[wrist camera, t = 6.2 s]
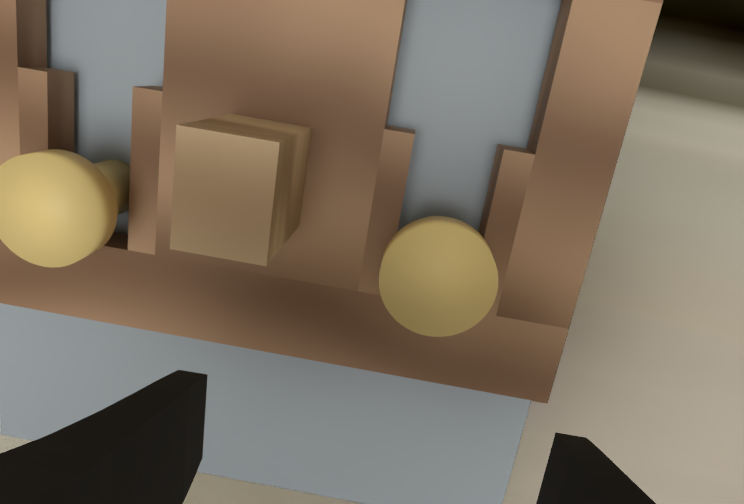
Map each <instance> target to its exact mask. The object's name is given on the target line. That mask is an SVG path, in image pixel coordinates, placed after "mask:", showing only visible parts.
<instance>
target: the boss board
mask: <svg viewBox="0 0 744 504" xmlns="http://www.w3.org/2000/svg"><path fill="white" fill-rule="evenodd" d="M561 3H562V0H407V5H406V12H405V18H404V24H403V30H402V36H401V42H400V48H399V54H398V61H397V67H396V73H395V79H394V85H393V91H392V97H391V104H390V110H389V116H388V122H387V125H389V126H395V127H401V128H407V129H413V130H415V136H414V142H413V148H412V153H411V159H410V164H409V170H408V176H407V181H406V187H405V192H404V198H403V204H402V209H401V215H400V220H399V226H398V232H397V233H396V234H395V235H394V236H393V238H392V239H391V240H390V242H389V243H388V245H387V247H386V249H385V252H384V254H383V258H382V263H381V267H380V272H379V289H380V294H381V298H382V301H383V303H384V305H385V307H386V309H387V310H388V312H389V313H390V314H391V315H392V317H393V318H394V319H395V320H396V321H397V322H398V323H400V324H401V325H402V326H404V327H405V328H407V329H409V330H411V331H413V332H415V333H418V334H421V335H425V336H432V337H445V336H452V335H456V334H459V333H462V332H464V331H466V330H468V329H470V328H472V327H473V326H475V325H476V324H477V323H479V322H480V321H481V320H482V319H483V318H484V317H485V315H486V314H487V313H488V312H489V310H490V309H491V307H492V305H493V303H494V301H495V298H496V295H497V291H498V270H497V267H496V263H495V261H494V258H493V256H492V253H491V251H490V248H489V246H488V244H487V243H486V241H485V239H484V238H483V237H482V236H481V234H480V233H479V232H478V231H479V227H480V222H481V218H482V213H483V209H484V204H485V200H486V195H487V191H488V186H489V182H490V177H491V173H492V168H493V164H494V159H495V155H496V150H497V146H498V144H501V145H507V146H513V147H519V148H525V149H527V145H528V141H529V137H530V133H531V128H532V124H533V120H534V116H535V112H536V107H537V103H538V99H539V95H540V91H541V87H542V82H543V78H544V74H545V70H546V66H547V61H548V57H549V53H550V49H551V45H552V40H553V36H554V32H555V28H556V24H557V19H558V15H559V11H560V7H561ZM166 5H167V0H46V29H47V68H52V69H58V70H64V71H70V72H74V153H73V152H70V151H66V150H59V149H50V150H44V151H39V152H34V153H29V154H24V155H19V156H16V157H13V158H11V159H9V160H7V161H6V162H5V163H3V164H2V165H1V166H0V239H1V240H2V242H3V243H4V244H5V245H6V246H7V247H8V248H9V249H10V250H11V251H12V252H13V253H15V254H16V255H17V256H19V257H20V258H22V259H24V260H26V261H28V262H30V263H33V264H35V265H39V266H43V267H50V268H54V267H64V266H68V265H71V264H73V263H75V262H77V261H79V260H81V259H83V258H85V257H87V256H89V255H90V254H92V253H94V252H96V251H97V250H99V249H100V248H102V247H103V246H104V245H105V244H106V243H107V242H108V240H109V239H110V238H111V236H112V234H113V232H115V233H121V234H126V235H128V221H129V189H130V157H131V124H132V92H133V86H159V87H163V70H164V48H165V26H166ZM177 370H184V371H190V372H196V373H202V374H208V376H207V392H206V408H205V425H204V441H203V457H202V460H201V463H200V465H199V467H198V470H197V472H200V473H205V474H210V475H216V476H221V477H226V478H231V479H237V480H242V481H247V482H252V483H258V484H263V485H268V486H273V487H279V488H284V489H289V490H294V491H300V492H305V493H310V494H315V495H321V496H326V497H331V498H336V499H342V500H347V501H352V502H357V503H363V504H503V500H504V496H505V493H506V489H507V486H508V482H509V478H510V475H511V471H512V468H513V464H514V460H515V457H516V453H517V449H518V446H519V442H520V439H521V435H522V431H523V428H524V424H525V421H526V417H527V413H528V410H529V406H530V403H531V400H526V399H521V398H515V397H510V396H504V395H499V394H493V393H488V392H483V391H477V390H472V389H466V388H461V387H455V386H450V385H444V384H439V383H433V382H428V381H422V380H417V379H412V378H406V377H401V376H395V375H390V374H384V373H379V372H373V371H368V370H362V369H357V368H351V367H346V366H341V365H335V364H330V363H324V362H319V361H313V360H308V359H302V358H297V357H291V356H286V355H280V354H275V353H270V352H264V351H259V350H253V349H248V348H242V347H237V346H231V345H226V344H220V343H215V342H209V341H204V340H199V339H193V338H188V337H182V336H177V335H171V334H166V333H160V332H155V331H149V330H144V329H138V328H133V327H128V326H122V325H117V324H111V323H106V322H100V321H95V320H89V319H84V318H78V317H73V316H67V315H62V314H57V313H51V312H46V311H40V310H35V309H29V308H24V307H18V306H13V305H7V304H2V303H0V428H1V435H6V436H11V437H16V438H21V439H27V440H32V441H35V440H37V439H40V438H42V437H44V436H47V435H49V434H51V433H54V432H56V431H58V430H60V429H62V428H64V427H66V426H69V425H71V424H73V423H75V422H77V421H79V420H81V419H83V418H86V417H88V416H90V415H92V414H94V413H96V412H98V411H100V410H102V409H104V408H106V407H108V406H110V405H112V404H114V403H116V402H118V401H120V400H121V399H123V398H125V397H127V396H129V395H131V394H133V393H135V392H137V391H139V390H140V389H142V388H144V387H146V386H148V385H150V384H152V383H153V382H155V381H157V380H159V379H161V378H163V377H165V376H167V375H169V374H171V373H173V372H175V371H177Z"/></svg>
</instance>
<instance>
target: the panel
mask: <svg viewBox="0 0 744 504" xmlns="http://www.w3.org/2000/svg"><path fill="white" fill-rule="evenodd" d="M662 3H663V0H562V3H561V7H560V11H559V15H558V19H557V24H556V28H555V32H554V36H553V40H552V45H551V49H550V53H549V57H548V61H547V66H546V70H545V74H544V78H543V82H542V87H541V91H540V95H539V99H538V103H537V107H536V112H535V116H534V120H533V124H532V128H531V133H530V137H529V141H528V145H527V149H525V148H519V147H513V146H507V145H501V144H498V146H497V150H496V155H495V159H494V164H493V168H492V173H491V177H490V182H489V186H488V191H487V195H486V200H485V204H484V209H483V213H482V218H481V222H480V227H479V231H478V232H479V233H480V234H481V236H482V237H483V238H484V239H485V241H486V243H487V244H488V246H489V248H490V251H491V253H492V256H493V258H494V261H495V263H496V267H497V270H498V291H497V295H496V298H495V301H494V303H493V305H492V307H491V309H490V310H489V312H488V313H487V314H486V315H485V317H484V318H483V319H482V320H481V321H480V322H479V323H477V324H476V325H475V326H473V327H472V328H470V329H468V330H466V331H464V332H462V333H459V334H456V335H452V336H445V337H432V336H425V335H421V334H418V333H415V332H413V331H411V330H409V329H407V328H405V327H404V326H402V325H401V324H400V323H398V322H397V321H396V320H395V319H394V318H393V317H392V315H391V314H390V313H389V312H388V310H387V309H386V307H385V305H384V303H383V301H382V298H381V294H380V289H379V272H380V267H381V263H382V258H383V254H384V252H385V249H386V247H387V245H388V243H389V242H390V240H391V239H392V238H393V236H394V235H395V234H396V233H397V232H398V226H399V220H400V215H401V209H402V204H403V198H404V192H405V187H406V181H407V176H408V170H409V164H410V159H411V153H412V148H413V142H414V136H415V130H413V129H407V128H401V127H395V126H389V125H387V122H388V116H389V110H390V104H391V97H392V91H393V85H394V79H395V73H396V67H397V61H398V54H399V48H400V42H401V36H402V30H403V24H404V18H405V12H406V5H407V0H167V5H166V26H165V48H164V70H163V87H159V86H133V92H132V124H131V157H130V189H129V221H128V235H126V234H121V233H115V232H113V234H112V236H111V238H110V239H109V240H108V242H107V243H106V244H105V245H104V246H103V247H102V248H100V249H99V250H97V251H96V252H94V253H92V254H90V255H89V256H87V257H85V258H83V259H81V260H79V261H77V262H75V263H73V264H71V265H68V266H64V267H54V268H50V267H43V266H39V265H35V264H33V263H30V262H28V261H26V260H24V259H22V258H20V257H19V256H17V255H16V254H15V253H13V252H12V251H11V250H10V249H9V248H8V247H7V246H6V245H5V244H4V243H3V242H2V240H1V239H0V303H2V304H7V305H13V306H18V307H24V308H29V309H35V310H40V311H46V312H51V313H57V314H62V315H67V316H73V317H78V318H84V319H89V320H95V321H100V322H106V323H111V324H117V325H122V326H128V327H133V328H138V329H144V330H149V331H155V332H160V333H166V334H171V335H177V336H182V337H188V338H193V339H199V340H204V341H209V342H215V343H220V344H226V345H231V346H237V347H242V348H248V349H253V350H259V351H264V352H270V353H275V354H280V355H286V356H291V357H297V358H302V359H308V360H313V361H319V362H324V363H330V364H335V365H341V366H346V367H351V368H357V369H362V370H368V371H373V372H379V373H384V374H390V375H395V376H401V377H406V378H412V379H417V380H422V381H428V382H433V383H439V384H444V385H450V386H455V387H461V388H466V389H472V390H477V391H483V392H488V393H493V394H499V395H504V396H510V397H515V398H521V399H526V400H532V401H537V402H543V403H548V400H549V396H550V393H551V389H552V386H553V382H554V379H555V375H556V372H557V368H558V365H559V361H560V358H561V354H562V351H563V347H564V344H565V340H566V337H567V334H568V330H569V327H570V323H571V320H572V316H573V313H574V309H575V306H576V302H577V299H578V295H579V292H580V288H581V285H582V281H583V278H584V274H585V271H586V267H587V264H588V260H589V257H590V253H591V250H592V247H593V243H594V240H595V236H596V233H597V229H598V226H599V222H600V219H601V215H602V212H603V208H604V205H605V201H606V198H607V194H608V191H609V187H610V184H611V180H612V177H613V173H614V170H615V167H616V163H617V160H618V156H619V153H620V149H621V146H622V142H623V139H624V135H625V132H626V128H627V125H628V121H629V118H630V114H631V111H632V107H633V104H634V100H635V97H636V93H637V90H638V86H639V83H640V80H641V76H642V73H643V69H644V66H645V62H646V59H647V55H648V52H649V48H650V45H651V41H652V38H653V34H654V31H655V27H656V24H657V20H658V17H659V13H660V10H661V6H662ZM50 149H59V150H66V151H70V152H73V153H74V72H70V71H64V70H58V69H52V68H47V29H46V0H0V166H1V165H2V164H3V163H5V162H6V161H7V160H9V159H11V158H13V157H16V156H19V155H24V154H29V153H34V152H39V151H44V150H50Z"/></svg>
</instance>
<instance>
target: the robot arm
mask: <svg viewBox="0 0 744 504" xmlns="http://www.w3.org/2000/svg"><path fill="white" fill-rule="evenodd" d="M207 376H208V374H202V373H196V372H190V371H184V370H177V371H175V372H173V373H171V374H169V375H167V376H165V377H163V378H161V379H159V380H157V381H155V382H153V383H152V384H150V385H148V386H146V387H144V388H142V389H140V390H139V391H137V392H135V393H133V394H131V395H129V396H127V397H125V398H123V399H121V400H120V401H118V402H116V403H114V404H112V405H110V406H108V407H106V408H104V409H102V410H100V411H98V412H96V413H94V414H92V415H90V416H88V417H86V418H83V419H81V420H79V421H77V422H75V423H73V424H71V425H69V426H66V427H64V428H62V429H60V430H58V431H56V432H54V433H51V434H49V435H47V436H44V437H42V438H40V439H37V440H35V441H32V442H30V443H27V444H25V445H22V446H19V447H17V448H14V449H11V450H9V451H6V452H3V453H1V454H0V504H182V503H183V501H184V499H185V497H186V495H187V493H188V490H189V488H190V486H191V484H192V482H193V479H194V477H195V475H196V472H197V470H198V467H199V465H200V463H201V460H202V457H203V441H204V425H205V408H206V392H207ZM536 504H656V503H655V502H654V501H653V500H651V499H650V498H649V497H648V496H647V495H646V494H645V493H644V492H643V491H642V490H641V489H640V488H639V487H638V486H637V485H636V484H635V483H634V482H633V481H632V480H631V479H630V478H629V477H628V476H626V475H625V474H624V473H623V472H622V471H621V470H620V469H619V468H618V467H617V466H616V465H615V464H614V463H613V462H612V461H611V460H610V459H609V458H608V457H607V456H606V455H605V454H604V453H603V452H602V451H601V450H600V449H598V448H597V447H596V446H595V445H594V444H593V443H592V442H591V441H589V440H588V439H587V438H584V437H578V436H572V435H566V434H561V433H556V434H555V437H554V441H553V445H552V448H551V452H550V456H549V459H548V463H547V467H546V470H545V474H544V478H543V481H542V485H541V489H540V492H539V496H538V500H537V503H536Z"/></svg>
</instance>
